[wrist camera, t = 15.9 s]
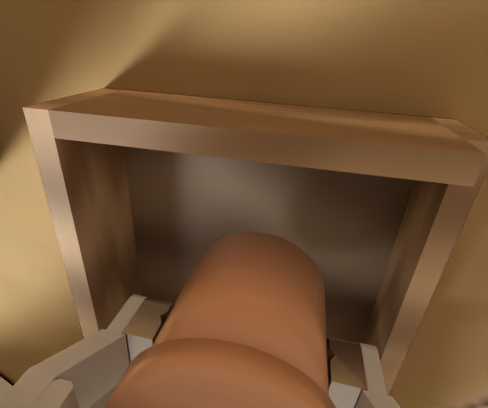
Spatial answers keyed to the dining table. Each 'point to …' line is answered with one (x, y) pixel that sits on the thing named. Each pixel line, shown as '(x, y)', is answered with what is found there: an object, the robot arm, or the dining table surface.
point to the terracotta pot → (238, 334)
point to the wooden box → (256, 200)
